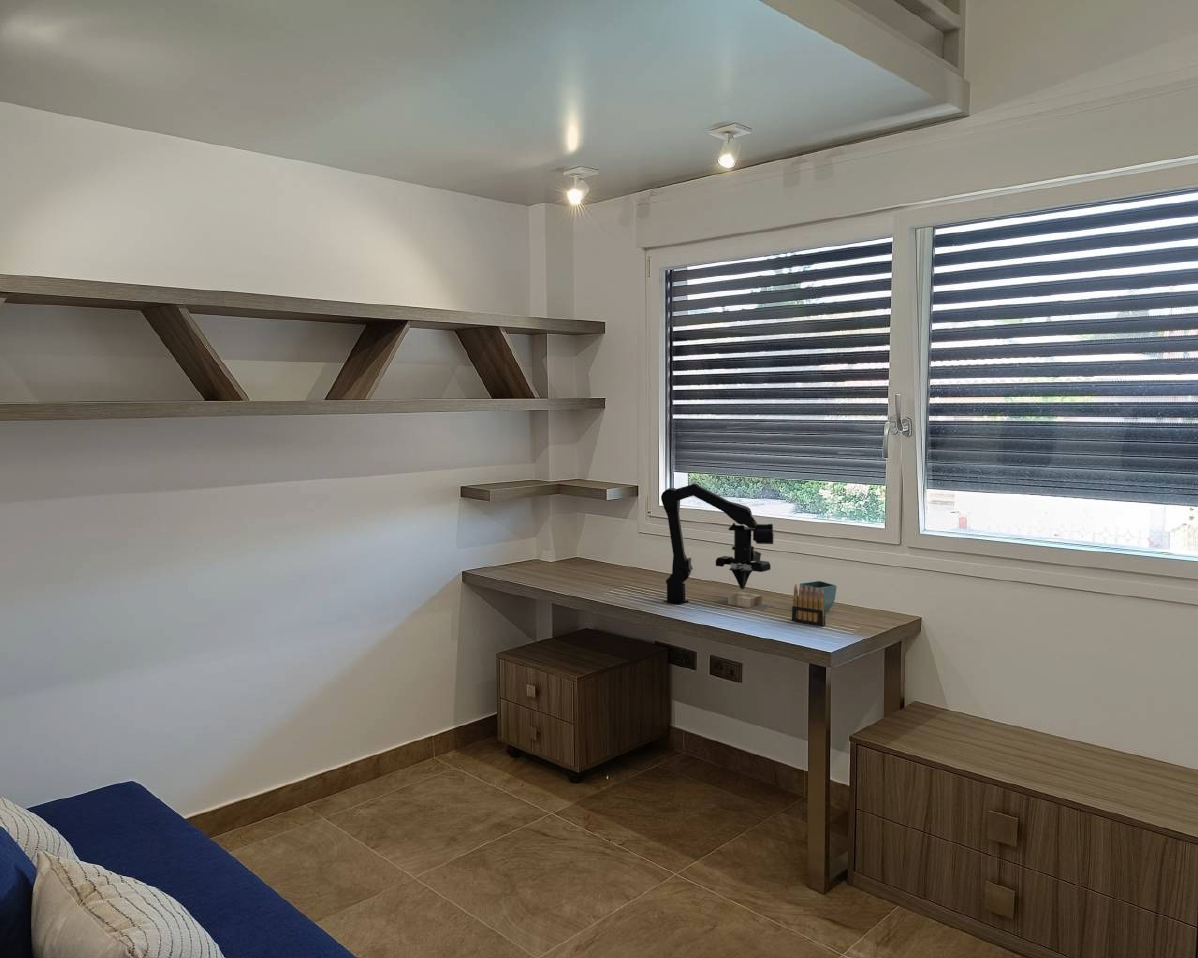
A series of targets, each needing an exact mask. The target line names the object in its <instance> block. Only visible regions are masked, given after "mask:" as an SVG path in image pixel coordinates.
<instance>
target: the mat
mask: <svg viewBox="0 0 1198 958" xmlns="http://www.w3.org/2000/svg"><path fill="white" fill-rule="evenodd" d="M715 603H717V604H721V605H728V606H730V605H731V604H728V598H727V599H723V600H719V601H717V602H715ZM731 606H732V605H731ZM733 606H734V607H738V606H737V605H733ZM739 607H740V608H746V609H753V610H759V611H763V610H767V609H769V608H772V607H774V605H771V604H766V603H762V604H761V605H758V606H755V607H752V608H749V607H743V606H739Z"/></svg>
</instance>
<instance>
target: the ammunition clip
mask: <svg viewBox="0 0 1198 958" xmlns="http://www.w3.org/2000/svg"><path fill="white" fill-rule="evenodd" d="M791 608H792V610H791V621H792V622H793V623H796V624H802V625H809V626H813V627H814V626H816V627H820V628H821V627H822V628H824V627H826V612H825V609H824V592H823V588H821V590H820V599H819V596H818V588H817V587H816V588H815V595H814V599H813V589H812V586H811V587H810V591H809V599H808V589H807V586H805V589H804V598H803V589H802V585H800V584H799V589H798V585H797V584H796V583H795V584H794V588H793V597H792V607H791Z"/></svg>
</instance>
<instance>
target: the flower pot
mask: <svg viewBox="0 0 1198 958" xmlns="http://www.w3.org/2000/svg"><path fill="white" fill-rule="evenodd" d="M800 585H802V589H803V598H804V589H805V586H807V589H808V599H809V591H810V587H811V586H812V589H813V599H814V595H815V588H816V587H817V588H818V596H819V599H820V590H821V588H823V592H824V609H825V613H827V612H829V611H830V609H832V607H833V605H834V603H835V600H836V593H837V587H838V585H836V584H832V583H828V582H825V581H822V580H815V581H809V582H803V583H799V586H800Z"/></svg>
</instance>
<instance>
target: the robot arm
mask: <svg viewBox="0 0 1198 958" xmlns="http://www.w3.org/2000/svg"><path fill="white" fill-rule="evenodd" d="M690 497H695V498H697V499H698V500H701V501H703V502H704V503H707V504H708V505H711V506H712V507H713V508H716V509H718V510H720V511H722V512H723V513H724V514H726V515H727V516H728V517H729V518H730V519H732V521H734V522H733V523H732V525H730V526H729V527H728V531H733V532H734V533H733V535H734V537H733V545H734V546H731V550H732V551H734V552H733V556H730V555H729V556H727V555H723V556H719V557H717V558H716V560H715V566H716V567H722V568H723V567H724V566H725V565H727V566H729V565H730V568H729V571H731V572H732V574H733V576H734V577H735V579H736V581H737V583H738V586H739V588H740V590H745V588H746V585H747V582H748V579H749V577H750V576H751V574H752V572H757V573H764V572H767V571H771V564H770V561H767V560H766V561H765V560H761V557H762V556H761V555H762V553H761V552H759V551H757V550H755V547H754V545H752V541H753V542H755V543H756V545H774V535H775V534H774V528H773V527H774V524H773V523H768V524H767V523H766V524H765V523H764V524H763V523H760V524H759V523H758V522H757V521H756V520H755V518H754V517H753V513H752V510H751V508H750V507H749V506H747V505H744V504H741V503H738V502H733V501H729V500H727V499H726V498H724V497H722V496H720V495H718V494H716V493H714V492H712V491H710V490H708V489H706V488H705V487H703V486H701V485H700V484H699V483H695V482H694V483H691V484H689V485H686V486H682V487H679V488H675V487H669V488H667V489H665V490H664V491H663V492H662V493H661V496H660V500H661V503H662V506H663V509H664V511H665V513H666V516H667V519H668V520H667V521H668V527H669V528H668V529H669V535H670V542H671V548H672V554H673V557H672V564H671V565H672V566H671V567H672V569H671V574H670V575H669V576H668V577H667V579H666V580H665V584H666V599H665V600H663V603H666V604H671V605H672V604H673V605H681V604H684V603H688V602H690V601H689V599H686V583H685V582H686V581H687V580H688V579H689V577H690V575H691V573H692V571H693V566H692V557H687V554H686V551H685V545H684V538H683V531H682V524H681V518H680V517H681V516H680V510H681V509H680V508H681V501H682V500H685V499H688V498H690ZM735 522H736V523H737V524H736V523H735ZM752 539H753V540H752Z"/></svg>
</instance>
